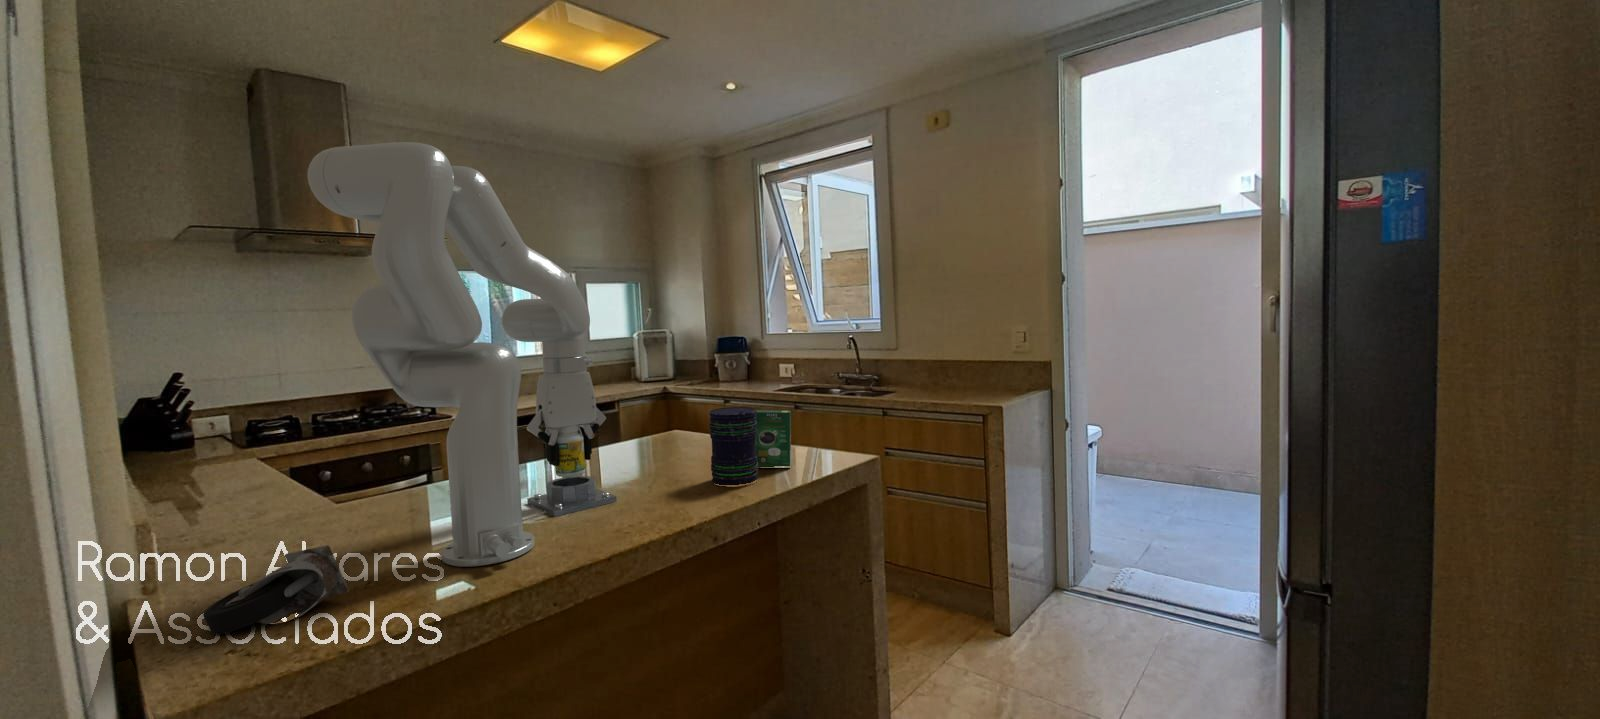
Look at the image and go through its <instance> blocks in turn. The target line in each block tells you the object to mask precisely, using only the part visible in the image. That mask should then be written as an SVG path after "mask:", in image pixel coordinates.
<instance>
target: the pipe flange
mask: <svg viewBox="0 0 1600 719" xmlns="http://www.w3.org/2000/svg"><path fill="white" fill-rule="evenodd" d="M545 488H546V493H544V494H540V493H538V494H536V493H535V494H534V495H533V496H532V497H528V498H526V499H527V504H528V505H530V506H532V507H533V508H536V509H538V510H539V511H542V512H544V513H547V514H549V515H550V516H552V517H555V518H556V517H560V516H563V515H568V514H571V513H575V512H579V511H583V510H588V509H592V508H595V507H599V506H603V505H608V504H611V503H616V502H618V501H617V495H614V494H611V493H610V492H609V491H608V492H606V491H603V490H601V489H599V488H596V478H595V477H593V476H589V475H588V476H587V475H577V476H572V477H560V478H559V477H558V478H556V479H553V480H550V481H548V482H547V483H546V486H545Z"/></svg>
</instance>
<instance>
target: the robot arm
mask: <svg viewBox="0 0 1600 719" xmlns="http://www.w3.org/2000/svg"><path fill="white" fill-rule="evenodd" d="M307 181H308V185H309V188H310V191H311V192H312V193H313V195H314V197H315V198H316V199H317V201H319V203H321V205H323V207H325V208H327V209H328V210H330V211H331V212H333V213H335V214H337V215H339V216H342V217H346V218H349V219H350V218H351V219H355V220H359V221H365V222H371V223H375V224H378V226H377V229H376V231H375V235H374V238H373V241H372V246H371V259H372V262H373V267H374V270H375V271H376V274H377V275H378V277H379V279H380V280H381V283H380V284H376V285H372V286H370V287H368V288H366V289H364V290H363V291H362V292H361V293H359V295H358V296H357V297H356V300H355V301H354V304H353V307H352V315H351V316H352V318H351V319H352V326H353V330H354V333H355V336H356V339H357V340H358V342H359V344H360V345H361V347H362V348H363V350H364V351H365V352H366V354H367V355H368V357H369V358H370V359H371V361H372V362H373V364H374V365H375V367H376V368H377V369H378V370H379V372H380V374H381V375H382V376H383V377H384V379H385V380H386V382H387V383H388V384H389V385H390V387H391V388H392V389H393V391H394V392H395V393H396V395H398V396H399V398H401V399H402V400H403V401H404V402H407V403H408V404H410V405H412V406H416V407H423V408H458V411H457V414H456V416H455V417H454V420H453V421H452V423H451V424H450V426H449V429H448V432H447V435H446V443H445V444H446V446H445V447H446V456H447V470H448V474H447V475H448V487H449V489H448V490H449V499H450V501H449V504H450V514H451V515H450V516H451V529H452V542H451V543H449V544H448V545H446V546H445V547H444V548H443V549H442V551H441V560H442V562H444V563H445V564H447V565H450V566H451V567H452V566H453V567H465V568H467V567H469V568H470V567H481V566H488V565H489V566H490V565H492V564H494V565H495V564H498V563H502V562H507V561H509V560H513V559H515V558H518V557H520V556H522V555H524V554H526V553H528V552H529V551H530V550H531V549H533V547H534V546H535V536H534V535H533V534H532V533H530V532H529V531H525V530H524V528H523V512H522V511H523V510H522V509H523V508H522V492H521V491H522V490H521V477H520V460H519V441H518V405H519V404H518V403H519V394H520V388H521V380H522V367H521V363H520V359H519V358H518V357H517V355H516V353H514V351H512V350H511V349H510V348H509V347H506V346H504V345H502V344H499V343H498V344H497V343H493V342H483V341H482V342H480V341H479V342H478V341H477V340H478V338H479V336H480V335H481V333H482V330H483V329H482V328H483V320H482V317H481V313H480V311H479V309H478V307H477V305H476V303H475V302H476V301H474V299H473V297H472V296H471V293H470V291H469V290H468V287H467V286H466V283H465V282H464V280H463V279H462V276H461V275H460V273H459V271H458V269H457V267H456V265H455V264H454V261H453V259H452V258H451V255H450V253H449V251H448V247H447V244H446V238H445V231H447V233H448V234H449V235H450V237H451V238H452V240H453V241H454V243H455V245H456V246H457V247H458V249H459V250H460V251H461V253H462V255H463V257H465V259H466V260H467V262H468V263H469V265H470V266H471V267H472V270H474V272H475V273H477V274H478V275H479V276H481V277H483V278H485V279H487V280H490V281H493V282H495V283H497V284H498V283H499V284H502V285H504V286H508V287H511V288H515V289H519V290H522V291H525V292H527V293H530V294H532V295H535V296H537V297H539V298H524V299H519V300H515V301H513V302H511V303H510V304H508V305H507V306H506V308H505V309H504V310H503V312H502V316H501V324H502V329H504V332H505V333H506V334H507V335H508V337H510V338H511V339H513V340H515V341H518V342H524V343H541V349H542V366H543V367H542V368H543V374H540V375H538V380H537V387H536V394H535V395H536V396H535V397H536V398H535V415H534V416H533V418H532V419H531V420H530V422H529V423H528V425H527V426H526V430H527V431H528V432H529V433H531V434H533V436H535V437H536V438H538V439H539V440H540V441H542V442H543V444H545V452H546V460H547V462H548V463H549V465H551V466H554V467H555V466H559V465H560V460H559V446H558V445H557V444H556V438H557V435H558V431H559V429H560V428H566V427H569V426H574V425H576V426H579V433H580V434H582V435H583V438H584V454H585V461H590V460H591V455H592V453H593V450H592V449H593V448H592V439H593V438H594V437H595V433H597V431H598V430H599V429H600V426H602V424H603V423H604V422H605V421H606V420H607V416H606V415H605V414H604V413H603V412H602V411H601V410H600V409H599V408H598V407H597V403H596V402H597V401H596V395H595V390H594V384H593V382H592V381H593V380H592V378H591V374H590V372H589V371H587V370H588V367H589V366H592V365H593V359H592V358H587V355H586V343H585V342H586V341H585V336H586V335H587V333H588V331H589V329H590V325H591V317H590V310H589V307H588V305H587V302H586V300H585V299H584V297H583V295H582V293H581V291H580V290H579V287H578V285H577V283H576V282H575V281H574V279H573V277H571V276H570V274H569V273H568V272H566V270H564V269H563V268H561V267H560V266H559V265H557V264H556V263H554V262H553V261H552V260H550V259H549V258H547V257H545V256H544V255H543V254H541V253H539V252H538V251H536V250H534V249H532V248H530V247H529V246H527V244H526V243H525V242H524V241H523V239H522V237H521V235H520V233H519V232H518V230H517V229H516V227H515V225H514V224H513V222H512V220H511V218H510V217H509V215H508V213H507V212H506V210H505V208H504V206H503V205H502V202H501V200H500V199H499V197H498V195H497V194H496V192H495V190H494V189H493V187H492V185H491V184H490V182H489V180H488V179H487V178H486V177H485V175H484V174H483V173H481V172H480V171H479V170H477V169H474V168H473V167H469V166H465V165H464V166H463V165H451V163H450V161H449V158H447V156H446V155H445V153H444V152H442V150H441V149H438V148H437V147H435V146H433V145H430V144H426V143H422V142H414V141H413V142H412V141H410V142H409V141H407V142H406V141H403V142H402V141H400V142H399V141H398V142H397V141H395V142H384V143H381V142H380V143H375V144H374V143H372V144H362V145H361V144H360V145H346V146H334V147H330V148H327V149H324V150H321V151H320V152H318V153H317V154H316V155H314V157H313V158H312V160H311V161H310V163H309V166H308V168H307ZM476 341H477V342H476ZM539 427H541V428H545V431H543V430H542V429H540V428H539Z"/></svg>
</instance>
